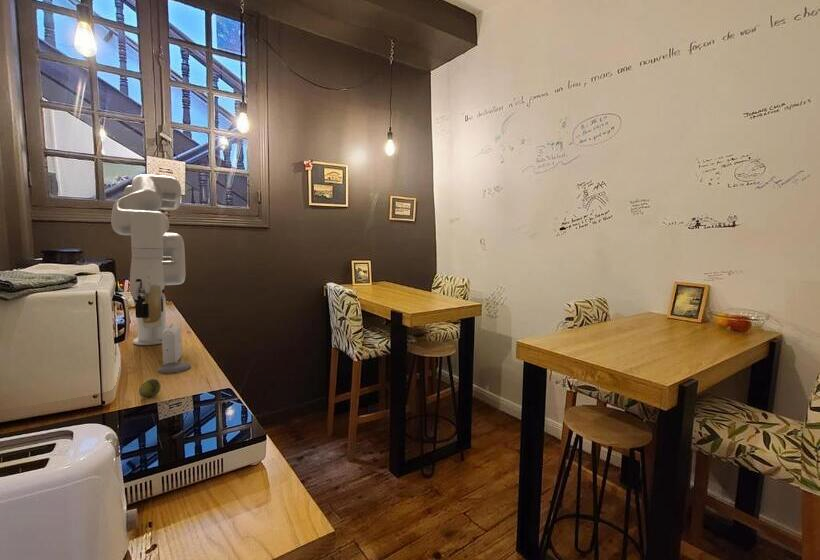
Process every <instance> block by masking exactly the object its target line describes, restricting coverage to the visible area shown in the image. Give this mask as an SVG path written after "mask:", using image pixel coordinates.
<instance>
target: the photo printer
mask: <svg viewBox="0 0 820 560" xmlns="http://www.w3.org/2000/svg"><path fill="white" fill-rule="evenodd" d="M182 345H183V343H182V328H181V325H178V324H177V323H171V324H169V325H166V328H165V330H164V331H163V333H162V343H161V348H162V349H161V350H162V351H161V352H162V365H164V364H168V363H173V362H179V360H180V359H181V358H182V356H183V352H182V351H183V348H182V347H183V346H182Z"/></svg>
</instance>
